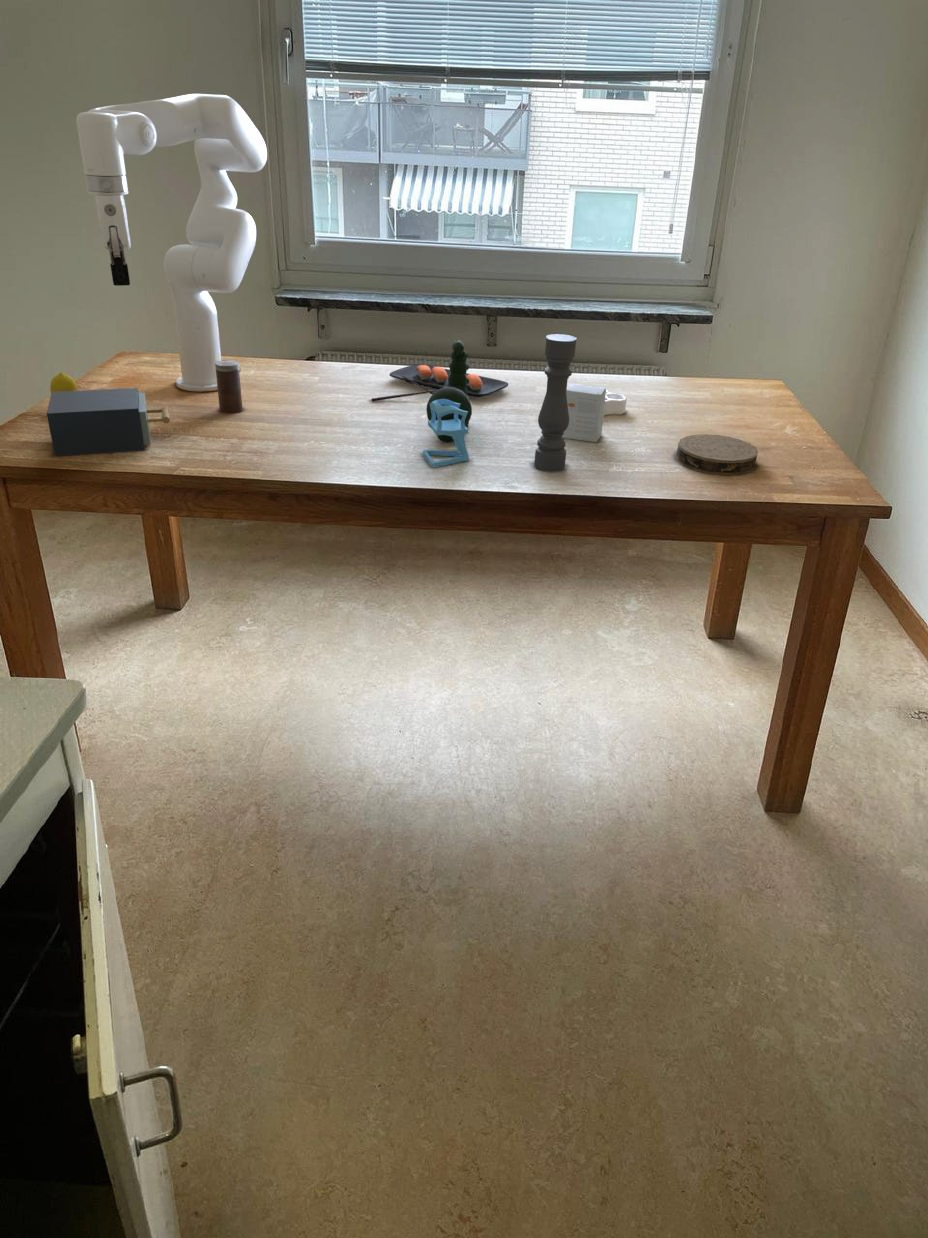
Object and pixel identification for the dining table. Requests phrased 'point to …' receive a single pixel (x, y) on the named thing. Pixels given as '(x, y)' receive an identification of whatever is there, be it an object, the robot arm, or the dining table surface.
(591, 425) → the small box
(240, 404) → the brown lidded jar
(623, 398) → the white brass knuckles
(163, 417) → the drawer
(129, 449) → the cabinet
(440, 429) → the chair
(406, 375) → the sushi plate
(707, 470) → the tambourine
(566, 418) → the candle holder
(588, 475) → the dining table surface
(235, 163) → the robot arm
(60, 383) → the lemon
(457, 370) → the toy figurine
